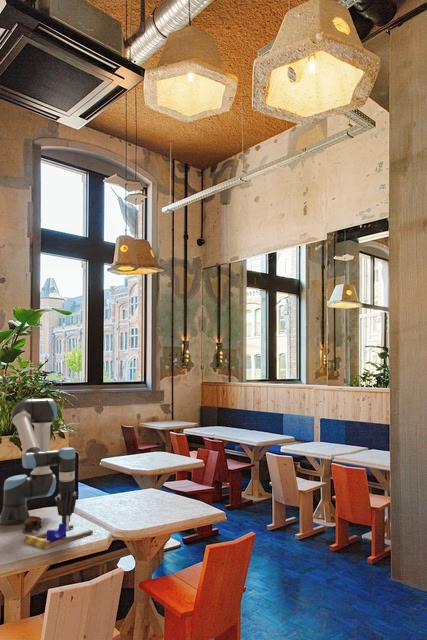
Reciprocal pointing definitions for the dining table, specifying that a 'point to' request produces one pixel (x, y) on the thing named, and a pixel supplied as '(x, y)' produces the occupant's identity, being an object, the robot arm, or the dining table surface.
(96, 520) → the dining table surface
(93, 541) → the dining table surface
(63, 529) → the cable clip
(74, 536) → the guide lane
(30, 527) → the pottery mug
